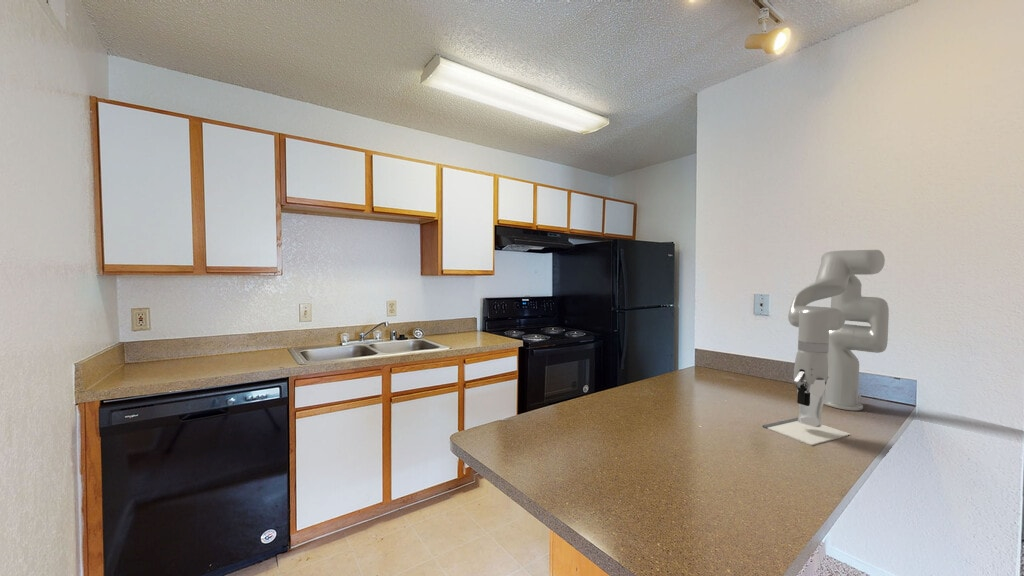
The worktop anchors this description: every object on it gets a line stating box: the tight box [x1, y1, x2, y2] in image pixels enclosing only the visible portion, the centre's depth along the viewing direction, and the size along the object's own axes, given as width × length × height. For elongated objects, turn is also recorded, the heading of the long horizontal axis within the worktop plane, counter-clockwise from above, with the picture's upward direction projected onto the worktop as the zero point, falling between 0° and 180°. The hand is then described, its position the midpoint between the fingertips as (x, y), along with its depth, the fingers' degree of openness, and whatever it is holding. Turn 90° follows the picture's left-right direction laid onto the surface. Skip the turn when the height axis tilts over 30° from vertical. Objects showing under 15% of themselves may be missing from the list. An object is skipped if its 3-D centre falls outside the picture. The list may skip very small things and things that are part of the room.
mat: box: [762, 417, 851, 446], centre depth 119 cm, size 20×14×1 cm
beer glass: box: [796, 378, 826, 427], centre depth 117 cm, size 7×7×15 cm
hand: (810, 402), depth 117 cm, fingers closed on beer glass, 6 cm apart
